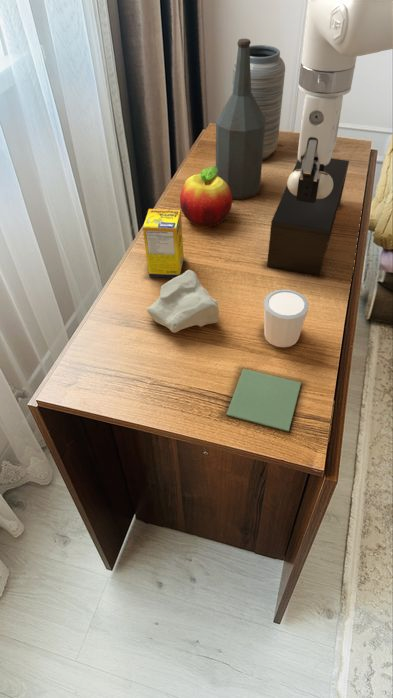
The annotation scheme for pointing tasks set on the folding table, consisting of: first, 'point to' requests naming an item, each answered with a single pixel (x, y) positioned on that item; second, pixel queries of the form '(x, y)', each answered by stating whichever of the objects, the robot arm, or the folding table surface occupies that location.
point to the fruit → (206, 198)
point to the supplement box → (163, 242)
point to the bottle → (240, 133)
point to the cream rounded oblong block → (323, 187)
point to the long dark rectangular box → (305, 226)
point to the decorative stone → (184, 304)
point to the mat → (264, 399)
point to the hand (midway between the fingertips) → (308, 192)
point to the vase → (267, 90)
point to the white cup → (284, 317)
